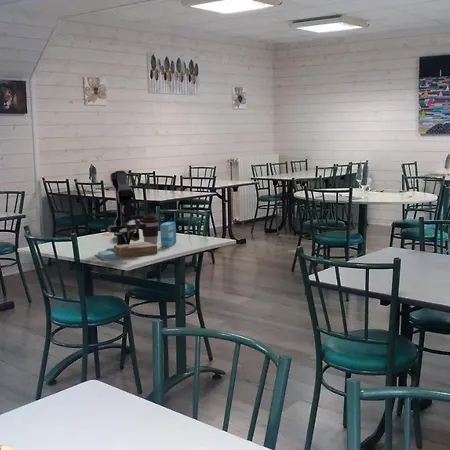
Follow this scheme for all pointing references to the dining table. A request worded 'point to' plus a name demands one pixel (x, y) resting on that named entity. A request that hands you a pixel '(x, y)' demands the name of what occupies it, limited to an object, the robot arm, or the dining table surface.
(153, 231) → the coffee cup
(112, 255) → the teal foam pad
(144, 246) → the brown flat block
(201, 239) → the dining table surface
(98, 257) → the mat
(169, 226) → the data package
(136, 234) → the letter holder
